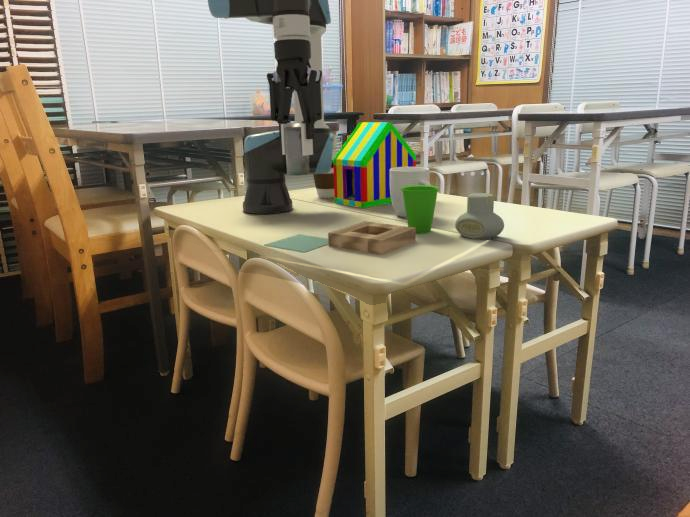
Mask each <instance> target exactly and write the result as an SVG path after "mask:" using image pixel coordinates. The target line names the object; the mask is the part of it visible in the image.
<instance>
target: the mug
mask: <svg viewBox="0 0 690 517" xmlns="http://www.w3.org/2000/svg"><path fill="white" fill-rule="evenodd" d="M430 172H431V171H430V168H429V167H423V166H416V167H396V168H391V169H390V196H391V201H392V202H391V205H392V208H393V210H394V212H395V215H397V216H398V217H399V218H404V219H405V218H406V219H407V217H406V210H405V203H404V197H403V190H401V188H402V187H405V186H413V185H429V186H432V184H431V182H430V181H431V180H430V175H431V174H430Z"/></svg>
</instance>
